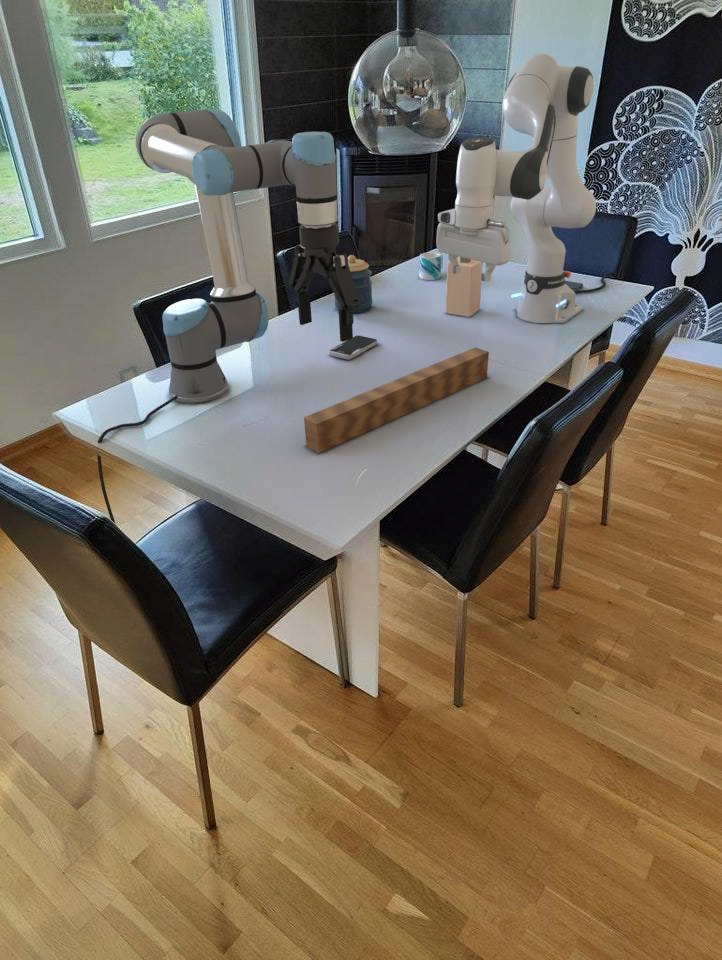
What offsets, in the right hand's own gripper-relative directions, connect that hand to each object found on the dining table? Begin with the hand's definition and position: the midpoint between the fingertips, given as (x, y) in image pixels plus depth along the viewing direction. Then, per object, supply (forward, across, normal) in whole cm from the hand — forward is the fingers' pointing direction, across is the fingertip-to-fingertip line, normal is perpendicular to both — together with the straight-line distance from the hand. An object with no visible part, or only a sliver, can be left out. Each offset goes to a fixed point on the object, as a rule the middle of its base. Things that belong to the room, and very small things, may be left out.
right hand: (470, 277), depth 162 cm
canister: (+28, +67, -18) cm, 75 cm away
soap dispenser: (+28, +38, -43) cm, 64 cm away
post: (+28, 0, +22) cm, 36 cm away
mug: (+28, +74, -64) cm, 102 cm away
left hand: (+1, 0, +45) cm, 45 cm away
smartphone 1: (+28, +38, +6) cm, 48 cm away
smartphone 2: (+28, +30, -84) cm, 94 cm away
